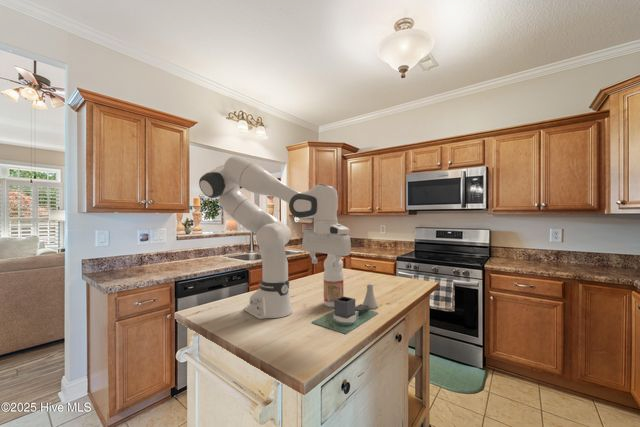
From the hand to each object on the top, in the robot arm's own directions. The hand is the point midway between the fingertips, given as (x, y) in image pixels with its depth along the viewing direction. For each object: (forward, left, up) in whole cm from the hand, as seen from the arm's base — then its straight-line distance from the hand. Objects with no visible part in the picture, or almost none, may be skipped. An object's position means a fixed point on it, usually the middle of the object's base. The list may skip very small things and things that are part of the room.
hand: (324, 265), depth 101 cm
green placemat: (0, +14, -24) cm, 28 cm away
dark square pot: (+2, +10, -21) cm, 23 cm away
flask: (+1, +33, -24) cm, 41 cm away
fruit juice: (-14, +25, -24) cm, 37 cm away
